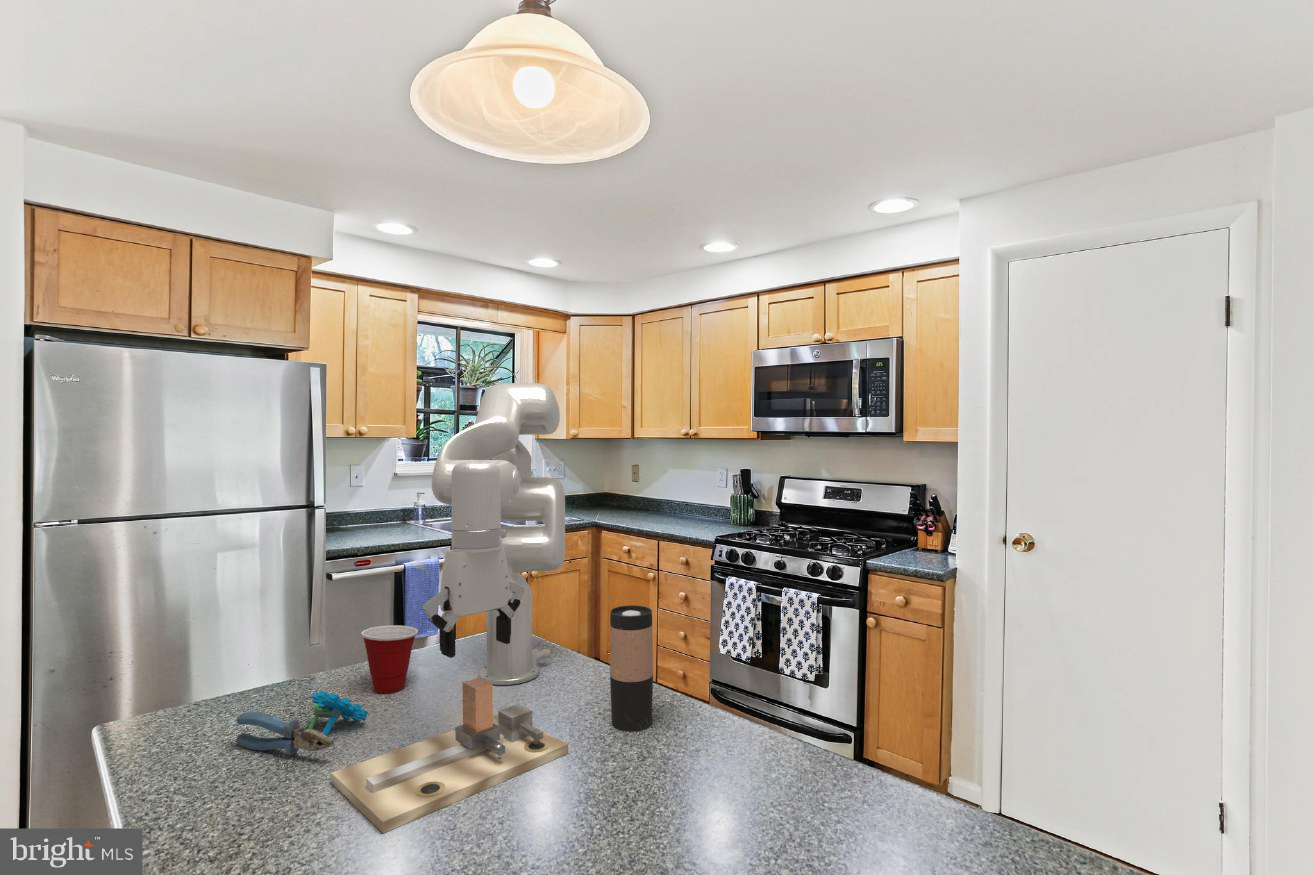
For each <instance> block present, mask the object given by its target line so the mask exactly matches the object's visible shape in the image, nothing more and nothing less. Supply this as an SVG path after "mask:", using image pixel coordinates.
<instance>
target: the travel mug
mask: <svg viewBox="0 0 1313 875" xmlns="http://www.w3.org/2000/svg"><path fill="white" fill-rule="evenodd" d="M609 618H610V620H609V622H610V625H609V629H610V630H609V634H610V635H609V638H610V639H609V675H610V676H609V680H610V681H609V682H610V683H609V685H610V707H611V708H610V710H611V713H610V714H611V724H612V726H613V727H614V728H615V729H617V730H619V731H623V732H639V731H642V730H646V729H648V728H649V727H650V726H651V725H652V722H653V721H652V720H653V694H654V692H653V691H654V690H653V689H654V688H653V687H654V664H653V663H654V655H653V654H654V652H653V650H654V648H653V644H654V642H653V610H652V609H651V608H650V607H648V606H643V605H635V604H634V605H632V604H631V605H629V604H628V605H620V606H616V607H614V608H612V609H610V617H609Z"/></svg>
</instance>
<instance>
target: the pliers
mask: <svg viewBox="0 0 1313 875" xmlns="http://www.w3.org/2000/svg"><path fill="white" fill-rule="evenodd" d="M235 720H236V723H237V725H249V726H250V725H251V726H258V727H260V728H262V729H265V730H269V731H271V732H274V733H276V734H279V735H281V737H280V736H279V737H259V736H257V735H252V734H249V733H244V732H243V733H240V734H239V735H238V736H237V737H236V740H235V741H236V744H238V745H239V746H241V747H243V748H246V749H247V750H248V749H249V750H252V751H268V750H269V751H270V750H272V751H273V750H281V749H284V750H285V753H286V754H287V755H288V756H292V755H295V754H297V753H298V752H299V749H303V751H308V752H317V751H320V750H323V749H328V748H331V747H332V746H334V744H335V741H334V740H335V739H333V738H331V737H330V736H326V735H324V734H323V733H322V732H321V731H319V730H318V729H317V730H316V729H308V728H307V729H304V727H301V723H300V721H299V720H298V719H295V718H293V719H290V720H289V721H287V722H286V721H284V720H283V719H280V718H278V717H276V716H275V715H272V714H268V713H265V712H261V711H246V712H243V713H241V714H240V715H238V716H237V717H236V719H235Z"/></svg>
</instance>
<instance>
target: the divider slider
mask: <svg viewBox="0 0 1313 875" xmlns="http://www.w3.org/2000/svg"><path fill="white" fill-rule="evenodd" d="M461 684H462V685H461V686H462V724H461V725H457V726H455V729H454V730H455V740H457V741H458V742H460V743H461V744H463V745H464V746H466V747H468V748H469V749H471V750H474V749H476V748H479V747H482V746H483V747H485V748H487V749H488V750H490V751H492V752H493V753H495V759H496V760H499V759H501V758H502V754H504V753H505V746H504V745H502V744H500V743H499V742H497V740H500V727H499V726H497V725H496V724H494V723H493V716H494V715H493V714H494V712H493V708H494V707H493V706H494V701H493V697H494V696H493V692H494V691H493V689H494V688H493V686H494V684H492V683H490V682H488V681H486V680H484V679H482V678H479V677H477V678H473V679H469V680H466V681H462V683H461Z"/></svg>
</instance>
